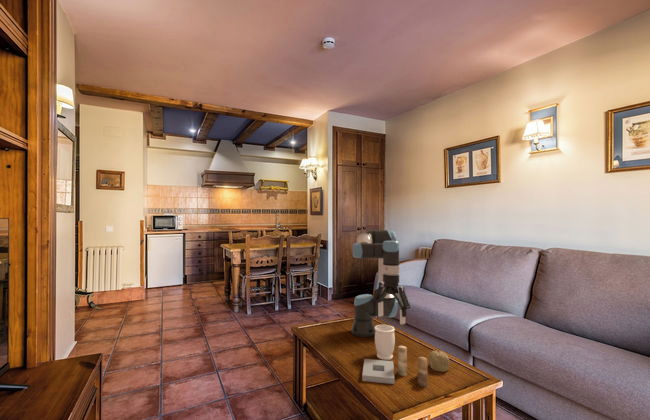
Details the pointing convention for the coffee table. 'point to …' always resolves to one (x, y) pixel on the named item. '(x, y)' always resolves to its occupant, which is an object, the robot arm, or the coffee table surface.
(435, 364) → the decorative object
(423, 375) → the walnut pin
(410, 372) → the coffee table surface
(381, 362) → the hole plate
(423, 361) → the oak pin
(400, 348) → the birch pin
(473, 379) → the coffee table surface
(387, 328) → the jar
